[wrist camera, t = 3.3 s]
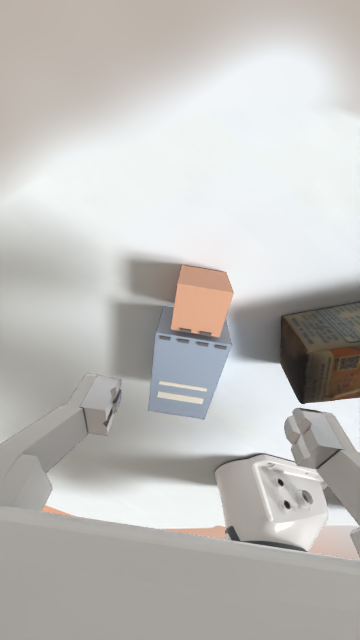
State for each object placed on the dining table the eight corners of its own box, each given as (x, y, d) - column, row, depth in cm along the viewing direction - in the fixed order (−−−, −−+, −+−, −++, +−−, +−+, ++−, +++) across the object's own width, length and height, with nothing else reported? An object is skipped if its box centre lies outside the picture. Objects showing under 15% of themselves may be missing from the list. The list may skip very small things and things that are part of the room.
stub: (226, 272, 19) (233, 293, 15) (215, 310, 22) (219, 338, 18) (181, 264, 19) (177, 284, 15) (175, 304, 22) (170, 330, 18)
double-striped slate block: (225, 316, 22) (232, 346, 18) (203, 386, 29) (204, 420, 24) (163, 306, 22) (155, 333, 18) (155, 378, 29) (147, 411, 24)
